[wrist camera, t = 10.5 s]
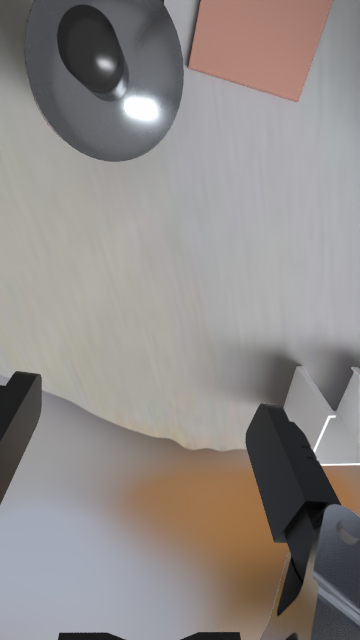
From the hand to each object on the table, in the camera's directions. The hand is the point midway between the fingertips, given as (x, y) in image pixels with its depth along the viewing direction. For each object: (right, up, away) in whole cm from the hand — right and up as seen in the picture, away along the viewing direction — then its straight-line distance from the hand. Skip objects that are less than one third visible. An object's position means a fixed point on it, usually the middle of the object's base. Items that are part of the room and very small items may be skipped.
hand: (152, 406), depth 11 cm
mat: (+9, +33, +17) cm, 38 cm away
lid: (-4, +21, +11) cm, 24 cm away
